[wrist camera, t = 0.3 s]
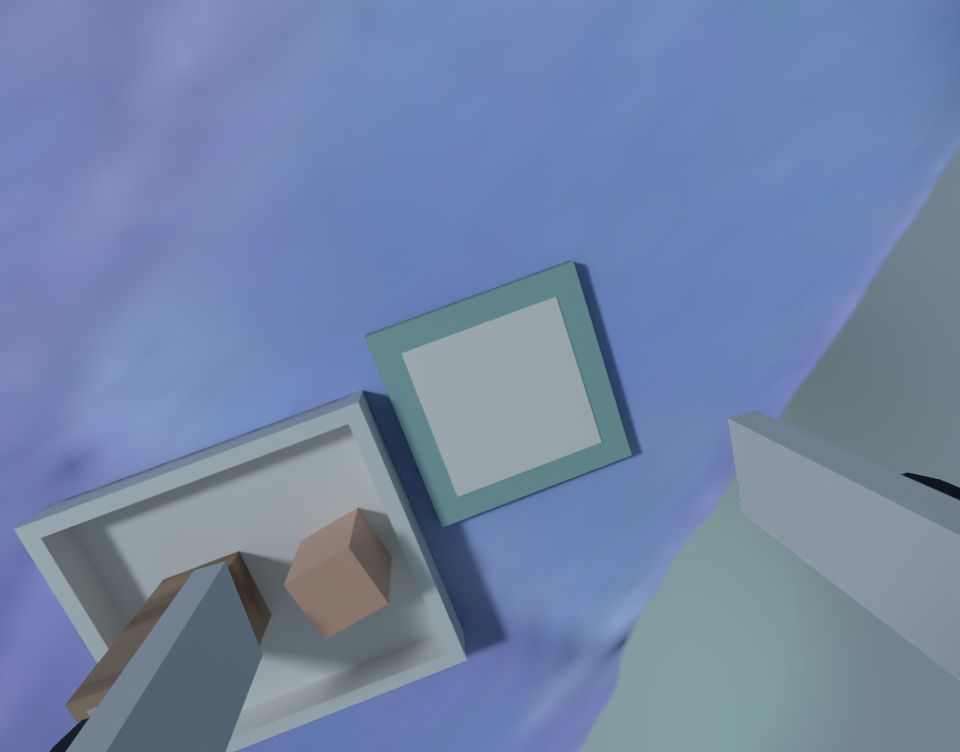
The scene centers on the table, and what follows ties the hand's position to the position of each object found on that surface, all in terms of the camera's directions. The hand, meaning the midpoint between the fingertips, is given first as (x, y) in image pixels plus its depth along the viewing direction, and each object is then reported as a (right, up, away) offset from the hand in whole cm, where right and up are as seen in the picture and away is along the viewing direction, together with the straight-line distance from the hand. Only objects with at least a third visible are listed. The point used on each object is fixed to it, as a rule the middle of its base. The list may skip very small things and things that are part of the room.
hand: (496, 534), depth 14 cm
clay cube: (-11, -9, +29) cm, 32 cm away
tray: (-17, -12, +29) cm, 36 cm away
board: (+1, +3, +29) cm, 29 cm away
